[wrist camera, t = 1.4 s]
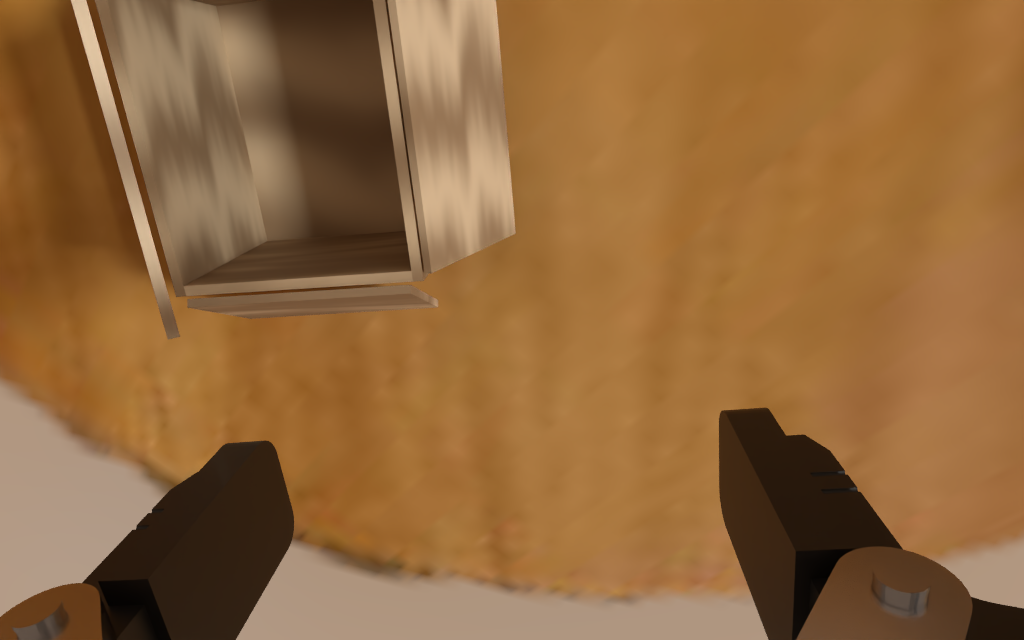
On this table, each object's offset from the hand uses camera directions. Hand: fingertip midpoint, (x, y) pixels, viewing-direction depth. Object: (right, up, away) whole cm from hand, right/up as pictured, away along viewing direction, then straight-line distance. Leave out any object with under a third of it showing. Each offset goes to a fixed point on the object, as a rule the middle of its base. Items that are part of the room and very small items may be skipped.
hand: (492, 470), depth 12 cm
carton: (-8, +14, +25) cm, 30 cm away
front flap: (-17, +10, +17) cm, 26 cm away
